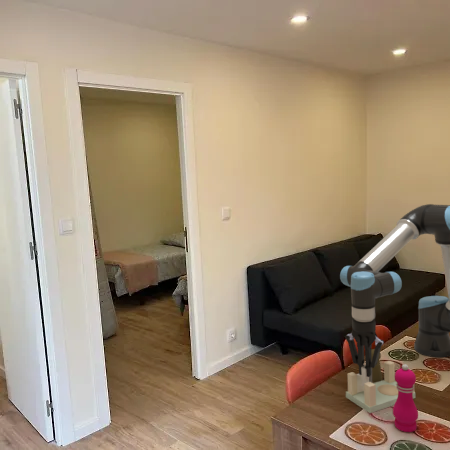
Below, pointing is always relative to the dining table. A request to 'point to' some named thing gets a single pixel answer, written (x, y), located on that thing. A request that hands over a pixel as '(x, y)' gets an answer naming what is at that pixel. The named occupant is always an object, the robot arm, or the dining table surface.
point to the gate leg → (354, 383)
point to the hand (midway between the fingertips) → (365, 384)
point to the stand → (378, 391)
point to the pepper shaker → (376, 369)
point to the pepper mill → (405, 400)
